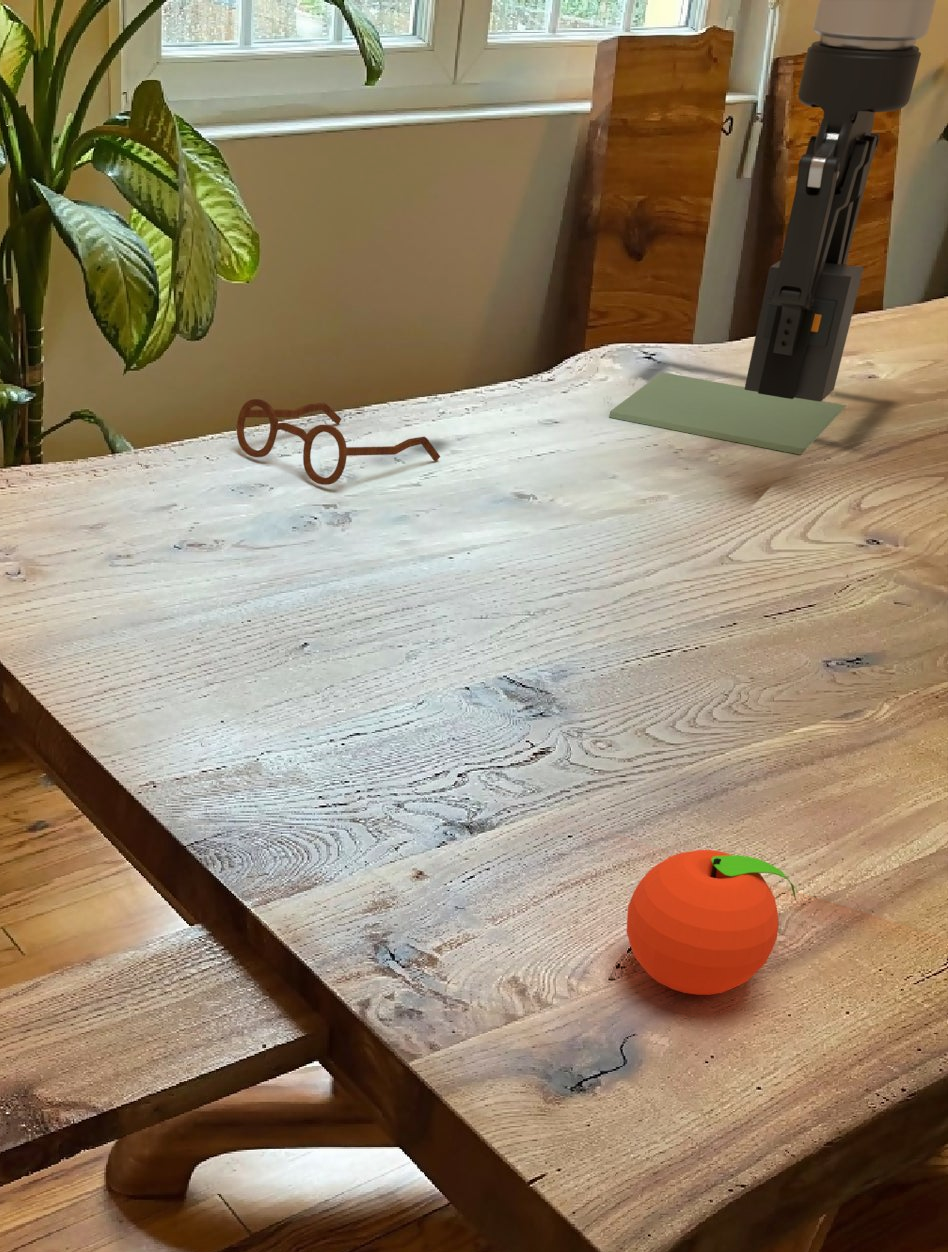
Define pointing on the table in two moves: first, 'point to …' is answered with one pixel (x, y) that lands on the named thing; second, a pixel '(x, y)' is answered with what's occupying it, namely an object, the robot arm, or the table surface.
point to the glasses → (309, 437)
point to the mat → (728, 413)
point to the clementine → (704, 920)
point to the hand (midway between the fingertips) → (785, 386)
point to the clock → (813, 331)
